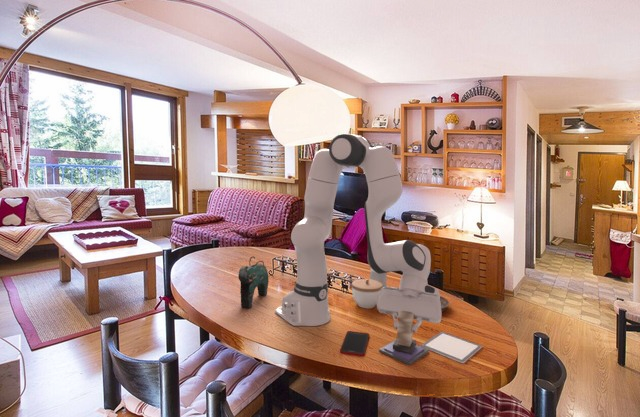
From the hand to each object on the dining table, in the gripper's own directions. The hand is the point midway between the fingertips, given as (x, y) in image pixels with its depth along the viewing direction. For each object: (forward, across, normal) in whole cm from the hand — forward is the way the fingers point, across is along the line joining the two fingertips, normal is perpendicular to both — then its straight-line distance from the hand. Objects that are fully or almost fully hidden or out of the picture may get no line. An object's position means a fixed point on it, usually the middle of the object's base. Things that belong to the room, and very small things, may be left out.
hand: (404, 330), depth 115 cm
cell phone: (+6, -16, +5) cm, 18 cm away
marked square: (-2, +13, +13) cm, 19 cm away
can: (-29, -23, +40) cm, 55 cm away
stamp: (+4, 0, +5) cm, 6 cm away
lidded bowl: (-17, -23, +28) cm, 40 cm away
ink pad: (+5, 0, +6) cm, 8 cm away
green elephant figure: (-5, -66, +15) cm, 68 cm away
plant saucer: (-24, 0, +35) cm, 43 cm away
